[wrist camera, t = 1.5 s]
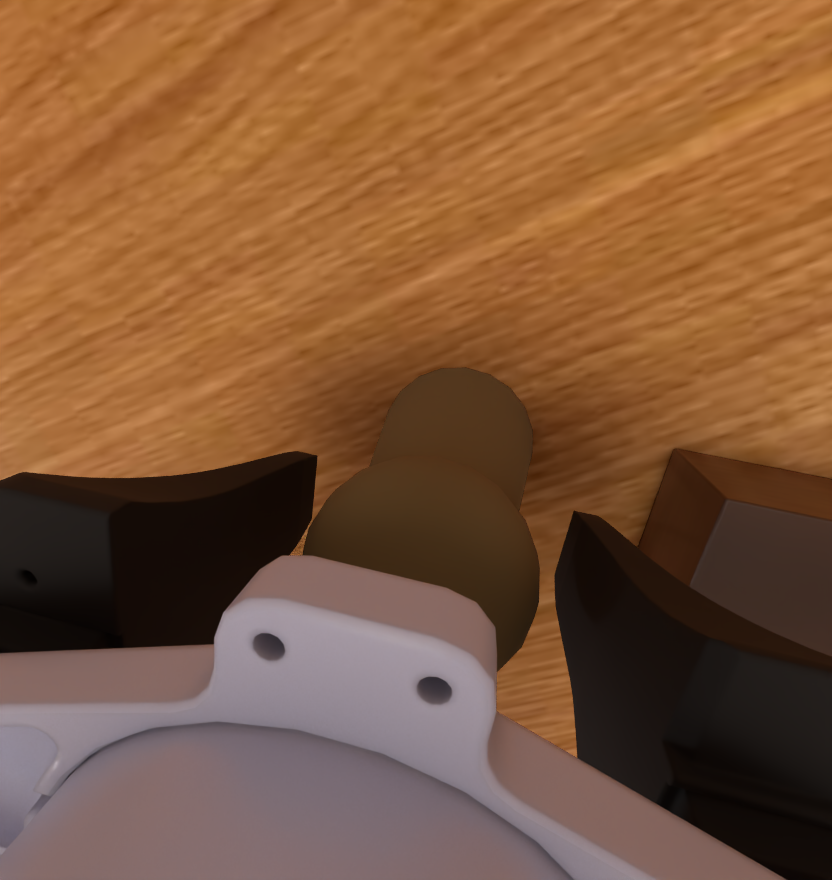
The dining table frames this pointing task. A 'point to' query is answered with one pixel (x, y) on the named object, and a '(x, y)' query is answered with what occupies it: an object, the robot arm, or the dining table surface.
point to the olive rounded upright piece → (445, 500)
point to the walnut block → (749, 542)
